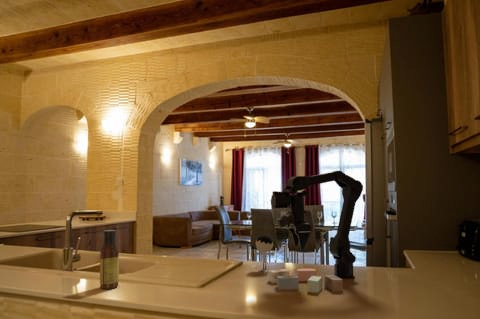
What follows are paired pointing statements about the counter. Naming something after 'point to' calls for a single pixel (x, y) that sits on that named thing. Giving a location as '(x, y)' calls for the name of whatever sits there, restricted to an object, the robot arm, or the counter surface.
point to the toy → (264, 247)
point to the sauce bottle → (109, 261)
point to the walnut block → (333, 283)
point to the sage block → (314, 284)
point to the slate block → (287, 282)
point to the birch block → (277, 274)
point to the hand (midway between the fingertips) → (299, 247)
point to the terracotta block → (305, 274)
